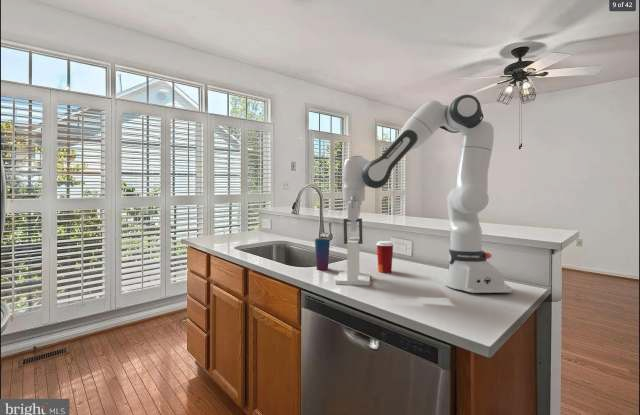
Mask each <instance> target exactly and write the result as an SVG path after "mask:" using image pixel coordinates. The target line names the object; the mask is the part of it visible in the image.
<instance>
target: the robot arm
mask: <svg viewBox="0 0 640 415" xmlns="http://www.w3.org/2000/svg"><path fill="white" fill-rule="evenodd" d="M483 119H484V114H483V111H482V105H481V103H480V100H479V99H478V98H477V97H476V96H474V95H472V94H463V95H460V96H458V97H456V98H455V99H453V100H452V101H451V102H450V104H449V105H445V104H443V103H441V102H440V101H438V100H433V99H432V100H428V101H427V102H424V103H423V104H422V105H421V106H420V107H419V108H418V109H417V110H416V111H415V112H414V113H413V114H412V115H411V116H410V117H409V118H408V119H407V120H406V122H405V123H404V125H402V127H401V129H400V131H399V133H398V135H397V137H396V139H395V140H394V142H392V144H391V145H390V146H389V147H388V148H387V149H386V150H384V152H383V153H382V154H381V156H379V157H377V158H375V159H373V160H372V161H370V160H368V159H366V158H365V157H364V156H363V155H354V156H350V157H348V158H346V159H345V160H344V162H343V163H344V164H343V169H342V180H343V187H342V201H345V205H346V206H347V219H348V220H351V222H350V231H352V232H356V230H357V222H356V220H357V219H360V214H361V205H362V204H363V203H362V202H363V201H365V200H366V196H365V194H366V193H365V192H366V190H365V189H366V188H367V187H368V188H372V189H380V188H382V187H383V186H385V185H386V184H387V183H388V181H390V180H389V179H390V176H391V174H392V171H393V169H394V167H396V165H398V163H399V162H400V161H401V160H402V159H403V158H404V157H405V156H406V155H407V153H409V152H410V151H411V150H414V149H417V148H420V147H421V146H422V145H423V144H424V143H426V142H427V141H428V140H429V139H430V138H431V137H432V136H433V135H434V133H436V131H438V129H442V130H445V131H446V132H449V133H451V134H452V133H453V134H457V133H461V140H462V141H461V144H460V149H459V153H458V160H457V164H456V185H455V187H454V188H453V189H452V190H450V191H449V193H448V194H447V197H446V203H447V213H448V221H449V228H450V229H449V231H450V233H449V235H450V238H449V239H450V240H449V241H450V242H449V243H450V245H449V250H448V263H449V268H448V275H447V278H446V282H445V285H446V286H447V287H448V288H451V289H454V290H459V291H464V292H468V293H471V294H473V293H474V294H475V293H477V294H481V293H484V294H486V293H488V294H489V293H490V294H491V293H511V292H512V286H510V285H508V284H506V283H505V278H504V274H503V272H502V271H501V270H500V269H498V268H497V267H495V266H494V265H493V264H492V263H490V262H489V261H488V259H491V258H492V254H491V252H490V253H489V252H485V251H484V250H483V249H482V247H483V245H482V243H483V242H482V241H483V240H482V238H483V237H482V236H483V235H482V234H483V233H482V232H483V230H482V227H481V224H480V220H479V214H478V213H480V212H482V211H483V210H485V209H486V207H487V206H488V204H489V194H488V189H489V188H488V177H489V176H488V175H489V168H490V163H491V157H492V152H493V146H494V134H495V133H494V126H493V124H491V123H490V122H488V121H487V120H483Z"/></svg>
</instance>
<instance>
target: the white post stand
mask: <svg viewBox="0 0 640 415" xmlns="http://www.w3.org/2000/svg"><path fill="white" fill-rule="evenodd" d="M358 241H359V237H349V240H347V244H346V246H347V248H346V249H347V250H346V252H347V254H346V257H347V259H346V260H347V261H346V262H347V265H346V266H347V267H346V268H347V269H346V271H339V272H338V274H337V276H336V279H335V285H345V286H346V285H347V286H370V285H371V284H370V283H371V273H370V272H360V244H358Z"/></svg>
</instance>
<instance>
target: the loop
mask: <svg viewBox="0 0 640 415" xmlns="http://www.w3.org/2000/svg"><path fill="white" fill-rule="evenodd" d="M356 222H358V234H359V235H358V236H359V237H358V238H359V241H358V244H359V245H360V244H361V245H363V218H360V217H359V218H358V219H357V220H356ZM348 223H351V220H348V218H343V244H344V245H347V241H348Z"/></svg>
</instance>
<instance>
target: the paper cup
mask: <svg viewBox="0 0 640 415" xmlns="http://www.w3.org/2000/svg"><path fill="white" fill-rule="evenodd" d="M376 249H377V250H376V253H377V266H378V267H377V270H378V272H379V273H380V274H381V273H382V274H391V273H392V269H393V267H392V266H393V252H394V251H393V250H394V242H393V241H387V240H386V241H385V240H384V241H383V240H380V241H377V242H376Z"/></svg>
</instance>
